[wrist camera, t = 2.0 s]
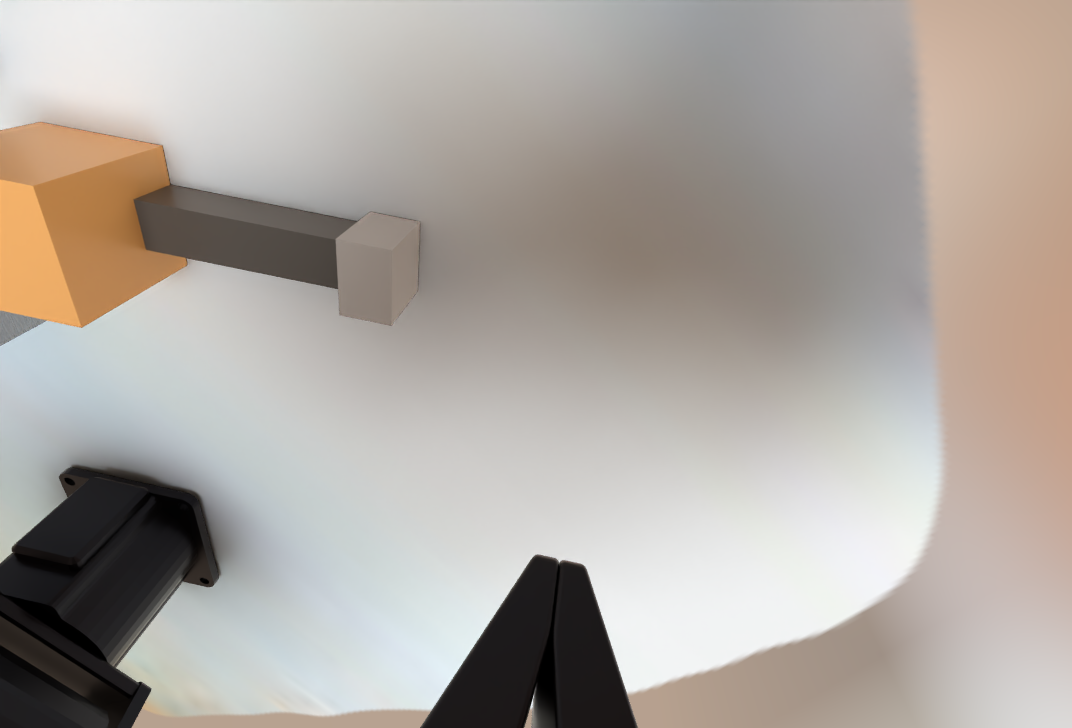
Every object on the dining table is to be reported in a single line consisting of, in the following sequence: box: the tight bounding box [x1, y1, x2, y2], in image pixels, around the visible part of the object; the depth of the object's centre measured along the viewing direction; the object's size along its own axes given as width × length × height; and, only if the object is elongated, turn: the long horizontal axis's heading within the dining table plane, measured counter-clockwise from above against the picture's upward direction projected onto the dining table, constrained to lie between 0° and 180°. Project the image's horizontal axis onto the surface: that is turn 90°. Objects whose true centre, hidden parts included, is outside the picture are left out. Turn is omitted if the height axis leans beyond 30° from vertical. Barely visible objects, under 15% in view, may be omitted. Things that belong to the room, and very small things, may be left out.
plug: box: [0, 122, 420, 328], centre depth 17 cm, size 12×4×4 cm, turn 82°
